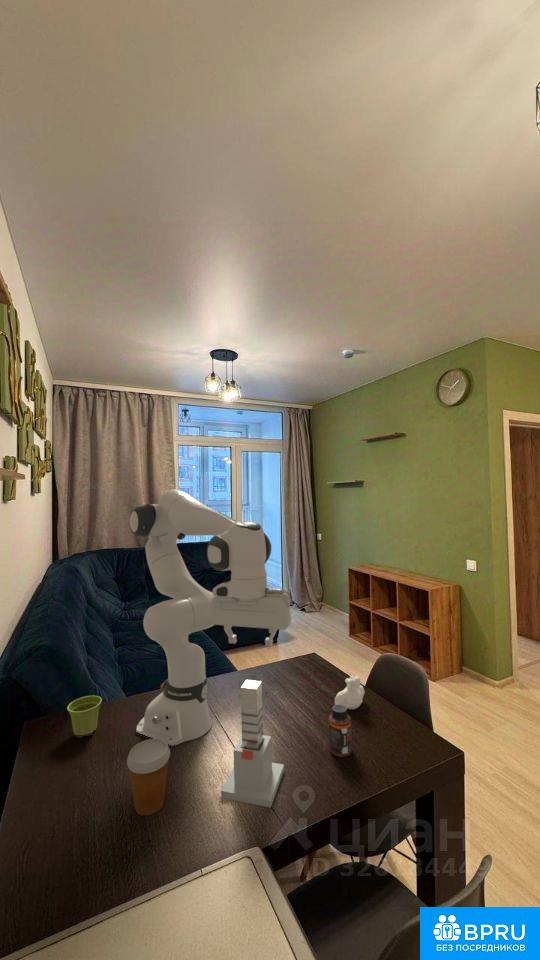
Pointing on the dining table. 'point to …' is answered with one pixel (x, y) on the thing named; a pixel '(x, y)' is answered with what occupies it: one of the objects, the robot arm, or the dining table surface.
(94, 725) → the plant pot
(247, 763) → the stand base
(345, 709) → the supplement bottle
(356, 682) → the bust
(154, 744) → the disposable coffee cup
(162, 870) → the dining table surface
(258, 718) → the column
